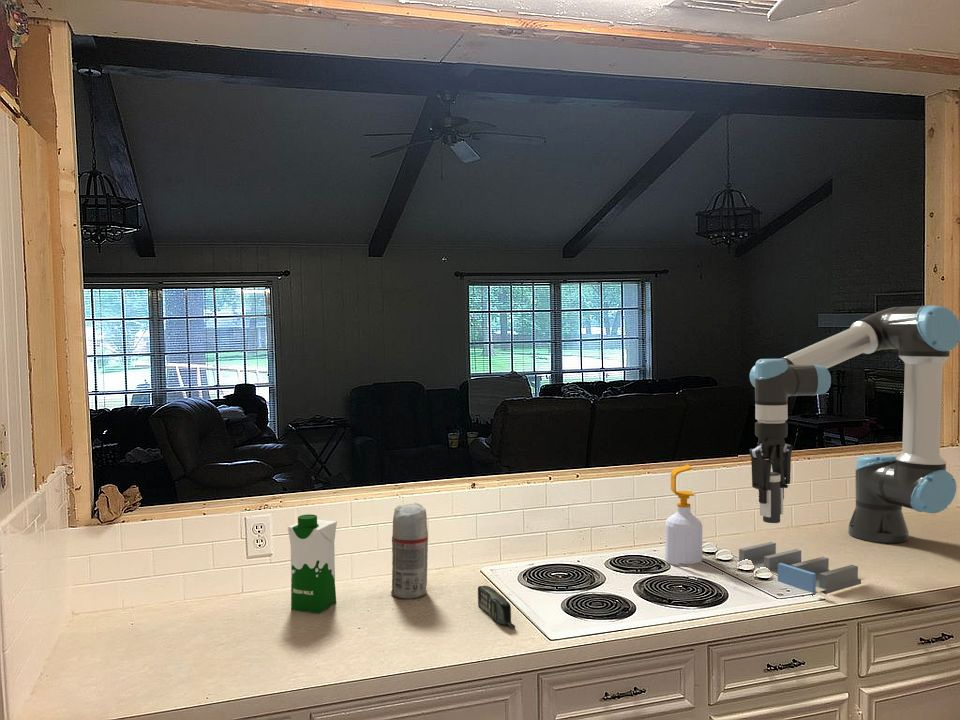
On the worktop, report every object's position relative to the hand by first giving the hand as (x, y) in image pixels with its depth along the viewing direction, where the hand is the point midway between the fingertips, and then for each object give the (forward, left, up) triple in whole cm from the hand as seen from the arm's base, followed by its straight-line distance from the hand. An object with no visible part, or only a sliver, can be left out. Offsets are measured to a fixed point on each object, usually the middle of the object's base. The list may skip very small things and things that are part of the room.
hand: (771, 514), depth 190 cm
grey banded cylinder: (0, 0, -2) cm, 2 cm away
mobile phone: (+76, -8, -13) cm, 78 cm away
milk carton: (+106, -34, -13) cm, 112 cm away
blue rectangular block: (+10, +15, -13) cm, 22 cm away
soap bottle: (+16, -14, -13) cm, 25 cm away
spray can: (+85, -30, -13) cm, 91 cm away
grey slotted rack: (0, +7, -13) cm, 15 cm away
